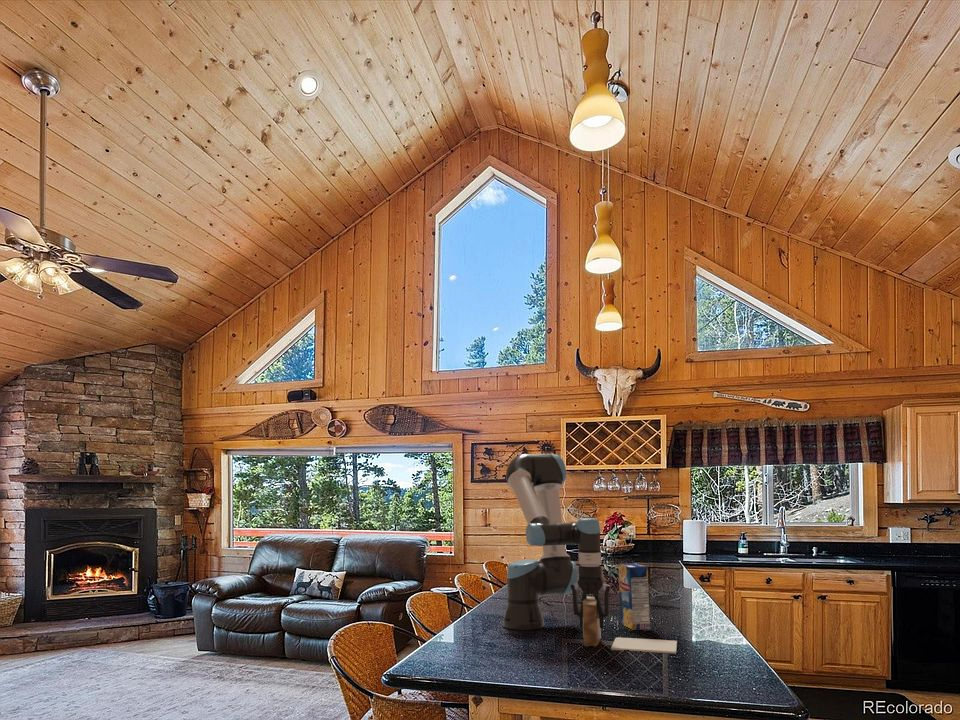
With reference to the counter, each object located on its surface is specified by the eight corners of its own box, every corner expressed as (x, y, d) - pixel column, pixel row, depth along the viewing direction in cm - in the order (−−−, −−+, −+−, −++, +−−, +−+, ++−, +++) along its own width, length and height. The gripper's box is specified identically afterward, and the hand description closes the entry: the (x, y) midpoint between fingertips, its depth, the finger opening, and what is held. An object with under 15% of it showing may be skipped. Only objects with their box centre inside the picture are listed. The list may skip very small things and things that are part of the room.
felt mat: (611, 649, 223) (611, 647, 223) (615, 639, 237) (615, 637, 237) (676, 653, 217) (676, 651, 217) (677, 642, 231) (676, 640, 232)
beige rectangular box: (584, 646, 228) (582, 601, 230) (588, 639, 237) (587, 596, 239) (596, 646, 227) (595, 601, 229) (600, 640, 236) (598, 596, 238)
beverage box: (632, 631, 249) (630, 567, 253) (620, 624, 260) (618, 563, 263) (650, 630, 250) (647, 566, 254) (637, 623, 261) (635, 563, 265)
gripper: (562, 565, 235) (564, 638, 231) (614, 567, 230) (617, 641, 226) (566, 563, 242) (568, 633, 238) (616, 564, 237) (619, 636, 233)
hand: (592, 637), depth 232 cm, fingers closed on beige rectangular box, 4 cm apart
